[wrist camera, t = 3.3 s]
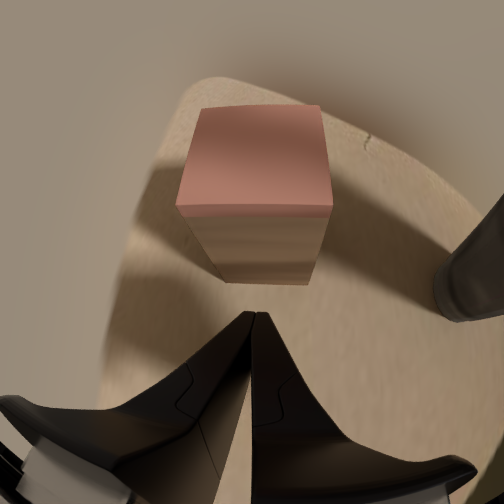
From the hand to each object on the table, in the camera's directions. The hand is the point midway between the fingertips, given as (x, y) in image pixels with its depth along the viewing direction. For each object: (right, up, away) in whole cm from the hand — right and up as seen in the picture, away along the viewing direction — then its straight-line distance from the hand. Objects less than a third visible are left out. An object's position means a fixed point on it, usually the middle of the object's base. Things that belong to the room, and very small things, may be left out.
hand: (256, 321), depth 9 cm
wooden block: (+1, +3, +8) cm, 9 cm away
